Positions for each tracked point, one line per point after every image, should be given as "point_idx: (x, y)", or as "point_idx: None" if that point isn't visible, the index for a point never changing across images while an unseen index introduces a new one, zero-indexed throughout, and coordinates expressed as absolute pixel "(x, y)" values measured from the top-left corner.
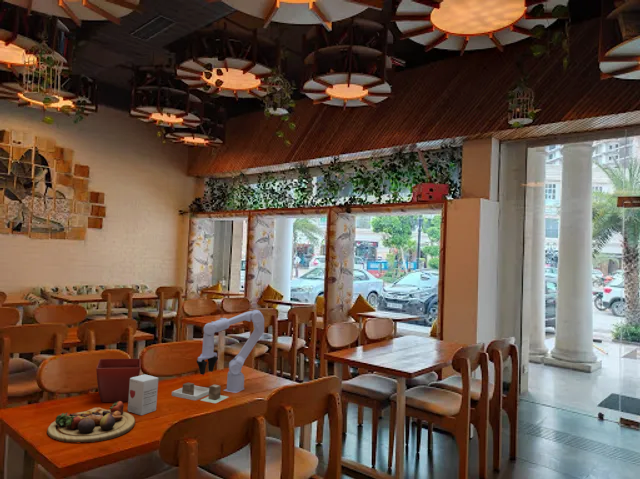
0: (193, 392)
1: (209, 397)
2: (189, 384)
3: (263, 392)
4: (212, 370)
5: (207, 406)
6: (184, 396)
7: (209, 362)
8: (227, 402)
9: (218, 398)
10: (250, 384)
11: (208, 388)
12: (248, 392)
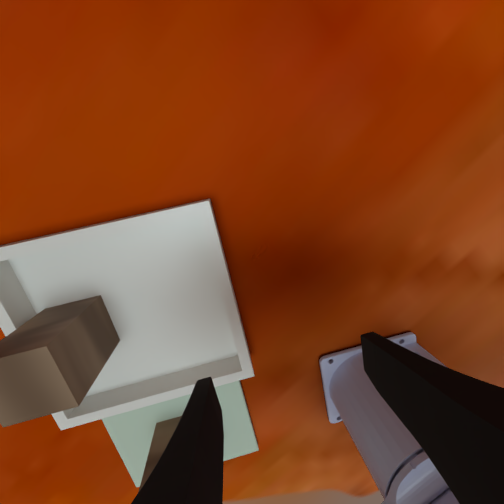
0: (107, 355)
1: (156, 434)
2: (23, 403)
3: None
4: (373, 381)
5: (88, 480)
6: None
7: (453, 422)
8: None
9: None
10: (499, 348)
11: (238, 353)
12: None
